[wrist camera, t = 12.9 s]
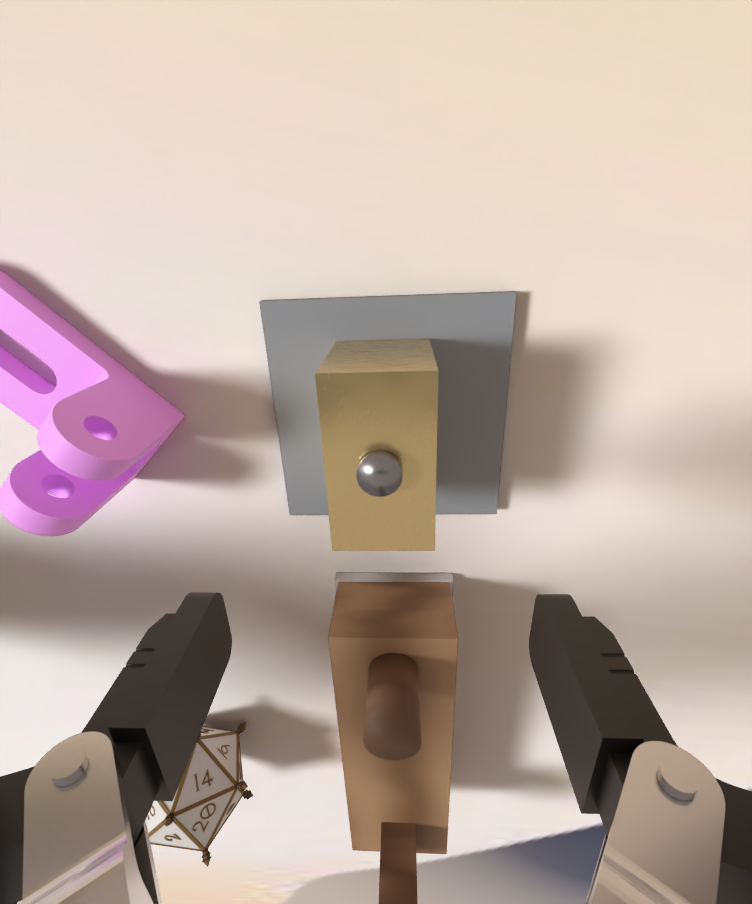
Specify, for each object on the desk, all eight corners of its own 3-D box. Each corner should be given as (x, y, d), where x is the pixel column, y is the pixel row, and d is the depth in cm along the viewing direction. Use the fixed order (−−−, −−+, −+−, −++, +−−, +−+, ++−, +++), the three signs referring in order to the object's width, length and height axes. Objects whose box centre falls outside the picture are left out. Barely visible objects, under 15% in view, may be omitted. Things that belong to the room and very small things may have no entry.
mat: (292, 509, 27) (289, 515, 26) (262, 300, 22) (259, 301, 21) (494, 508, 26) (496, 514, 25) (513, 291, 21) (516, 292, 20)
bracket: (186, 415, 25) (113, 474, 18) (135, 477, 27) (53, 550, 20) (-40, 234, 21) (-226, 231, 15) (-81, 320, 23) (-260, 350, 17)
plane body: (356, 779, 38) (340, 968, 28) (336, 572, 29) (302, 748, 19) (443, 782, 38) (458, 975, 28) (452, 573, 28) (480, 753, 18)
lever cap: (347, 484, 25) (330, 559, 19) (336, 341, 22) (311, 378, 16) (427, 483, 25) (435, 559, 19) (428, 338, 21) (439, 375, 16)
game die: (220, 672, 39) (176, 716, 29) (287, 747, 38) (265, 818, 28) (138, 755, 37) (62, 831, 27) (206, 836, 36) (152, 944, 27)
